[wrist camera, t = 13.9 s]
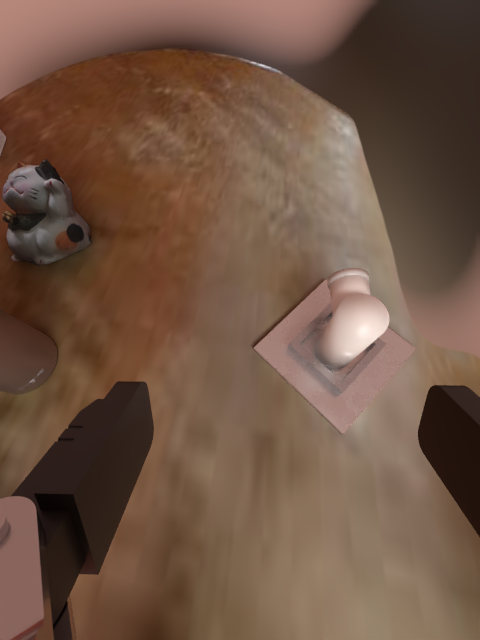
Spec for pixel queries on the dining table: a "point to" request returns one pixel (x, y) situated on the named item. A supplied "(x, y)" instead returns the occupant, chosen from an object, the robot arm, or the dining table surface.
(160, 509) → the dining table surface
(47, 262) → the lucky cat figurine
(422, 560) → the dining table surface
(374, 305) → the elbow
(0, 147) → the supplement box
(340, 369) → the plate
